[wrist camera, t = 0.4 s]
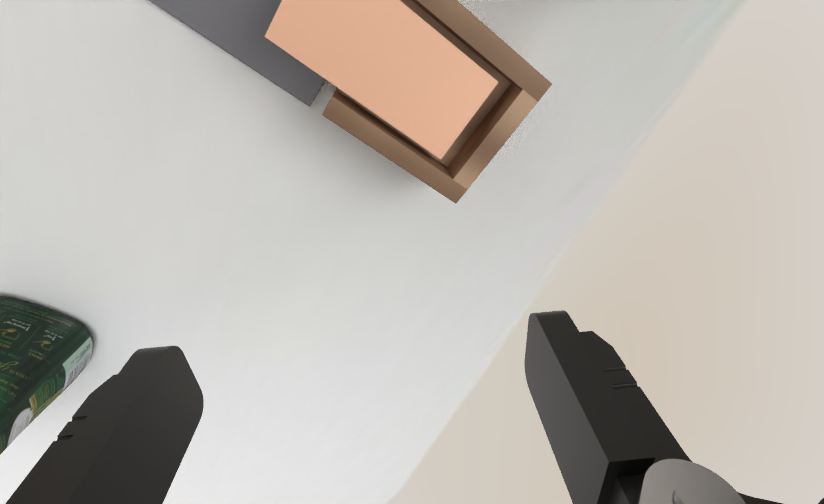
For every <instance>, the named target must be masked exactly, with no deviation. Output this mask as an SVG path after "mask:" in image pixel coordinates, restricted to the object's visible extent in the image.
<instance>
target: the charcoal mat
mask: <svg viewBox="0 0 824 504" xmlns="http://www.w3.org/2000/svg"><path fill="white" fill-rule="evenodd" d="M149 1H151V2H152V3H154V4H156V5H157V6H159V7H160V8H162V9H163V10H165V11H166V12H168V13H169V14H171V15H172V16H174V17H175V18H177V19H178V20H180V21H181V22H183V23H184V24H186V25H187V26H189V27H190V28H192V29H193V30H195V31H196V32H198V33H199V34H201V35H202V36H204V37H205V38H207V39H208V40H210V41H211V42H213V43H214V44H216V45H217V46H219V47H220V48H222V49H223V50H225V51H226V52H228V53H229V54H231V55H232V56H234V57H235V58H237V59H239V60H240V61H242V62H243V63H245V64H246V65H248V66H249V67H251V68H252V69H254V70H255V71H257V72H258V73H260V74H261V75H263V76H264V77H266V78H267V79H269V80H270V81H272V82H273V83H275V84H276V85H278V86H279V87H281V88H282V89H284V90H285V91H287V92H288V93H290V94H291V95H293V96H294V97H296V98H297V99H299V100H300V101H302V102H303V103H305V104H306V105H308V106H309V107H310V105H311V103H312V102H313V100H314V98H315V96H316V95H317V93H318V91H319V89H320V88H321V86H322V84H323V82H324V80H325V78H323V77H322V76H320V75H319V74H317V73H316V72H314V71H313V70H312V69H310V68H309V67H307V66H306V65H304V64H303V63H302V62H300V61H299V60H297V59H296V58H294V57H293V56H292V55H290V54H289V53H287V52H286V51H284V50H283V49H282V48H280V47H279V46H277V45H276V44H274V43H273V42H271V41H270V40H269V39H267V38H266V37H265V34H266V32H267V30H268V28H269V26H270V24H271V22H272V20H273V18H274V16H275V14H276V12H277V10H278V8H279V5H280V3H281V1H282V0H149Z"/></svg>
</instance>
